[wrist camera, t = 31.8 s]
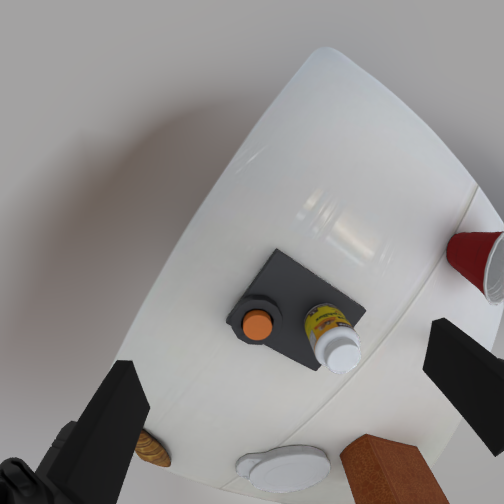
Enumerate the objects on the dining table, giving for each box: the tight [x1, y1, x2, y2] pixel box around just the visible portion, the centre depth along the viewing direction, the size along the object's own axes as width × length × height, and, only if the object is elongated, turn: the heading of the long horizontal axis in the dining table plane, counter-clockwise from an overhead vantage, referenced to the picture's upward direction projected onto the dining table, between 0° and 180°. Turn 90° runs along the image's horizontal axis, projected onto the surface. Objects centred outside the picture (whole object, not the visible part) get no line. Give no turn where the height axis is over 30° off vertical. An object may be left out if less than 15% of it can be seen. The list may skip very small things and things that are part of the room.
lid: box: [236, 445, 331, 493], centre depth 46 cm, size 17×20×3 cm
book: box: [340, 434, 449, 504], centre depth 33 cm, size 23×8×30 cm, turn 56°
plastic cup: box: [447, 232, 504, 305], centre depth 32 cm, size 11×11×12 cm
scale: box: [226, 249, 366, 371], centre depth 37 cm, size 16×12×3 cm
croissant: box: [135, 429, 171, 467], centre depth 42 cm, size 14×7×5 cm, turn 22°
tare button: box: [243, 310, 272, 340], centre depth 35 cm, size 4×4×2 cm
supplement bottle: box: [304, 304, 361, 374], centre depth 33 cm, size 6×6×10 cm
